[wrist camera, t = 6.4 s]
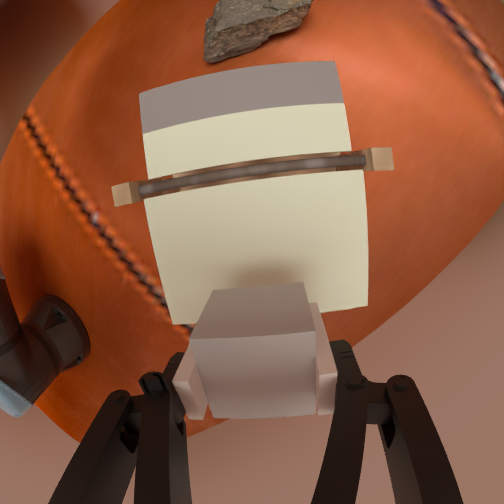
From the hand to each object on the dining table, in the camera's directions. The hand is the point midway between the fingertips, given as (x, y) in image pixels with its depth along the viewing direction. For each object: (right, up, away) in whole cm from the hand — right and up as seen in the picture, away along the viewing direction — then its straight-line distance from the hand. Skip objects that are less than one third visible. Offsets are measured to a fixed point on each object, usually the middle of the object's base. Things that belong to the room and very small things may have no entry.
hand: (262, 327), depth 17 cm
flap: (0, +10, +8) cm, 13 cm away
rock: (0, +35, +11) cm, 37 cm away
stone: (0, 0, 0) cm, 0 cm away
